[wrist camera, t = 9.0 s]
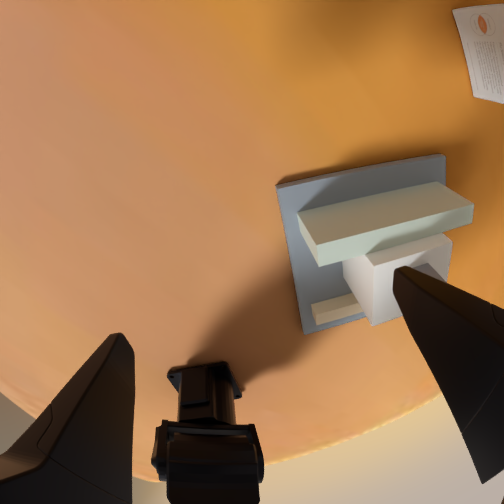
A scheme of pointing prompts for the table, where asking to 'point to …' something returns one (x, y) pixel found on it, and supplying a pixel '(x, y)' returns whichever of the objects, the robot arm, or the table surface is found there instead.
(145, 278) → the table surface
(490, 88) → the small box
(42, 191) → the table surface
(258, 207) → the table surface
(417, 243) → the block with grey handle
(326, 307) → the cleat board
